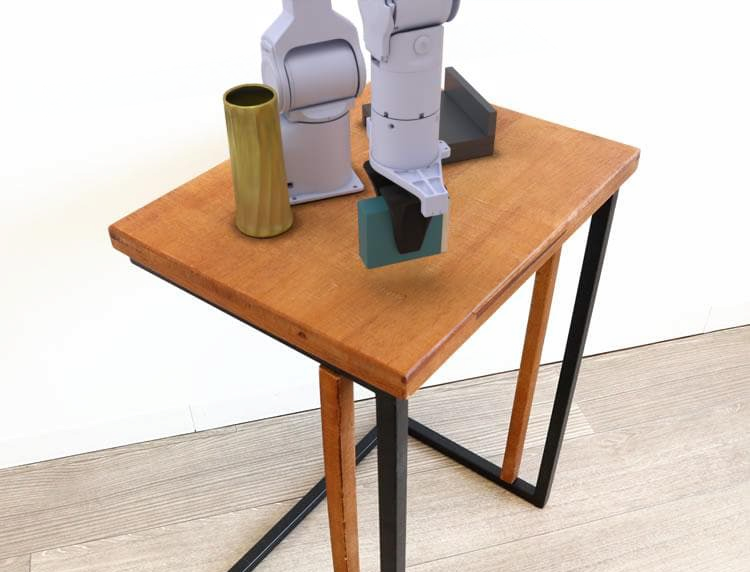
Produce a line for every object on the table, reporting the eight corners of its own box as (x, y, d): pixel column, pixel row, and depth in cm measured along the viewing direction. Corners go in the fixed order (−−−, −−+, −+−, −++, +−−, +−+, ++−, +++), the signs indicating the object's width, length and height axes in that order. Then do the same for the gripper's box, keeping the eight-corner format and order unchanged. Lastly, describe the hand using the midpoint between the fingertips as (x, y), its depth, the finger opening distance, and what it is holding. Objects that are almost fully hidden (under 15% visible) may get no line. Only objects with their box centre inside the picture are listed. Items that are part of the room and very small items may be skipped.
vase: (224, 228, 89) (204, 100, 79) (258, 201, 93) (242, 76, 83) (272, 244, 87) (257, 115, 77) (304, 215, 91) (294, 89, 81)
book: (447, 252, 80) (451, 197, 76) (367, 270, 78) (366, 215, 74) (437, 237, 82) (439, 183, 77) (358, 254, 80) (357, 200, 76)
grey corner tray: (398, 173, 97) (399, 128, 93) (362, 123, 106) (361, 81, 102) (493, 154, 100) (497, 111, 96) (450, 107, 109) (452, 66, 105)
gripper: (487, 136, 65) (474, 276, 75) (418, 62, 75) (414, 194, 85) (402, 152, 64) (400, 293, 73) (343, 74, 74) (347, 207, 83)
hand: (403, 241), depth 79 cm, fingers closed on book, 2 cm apart
